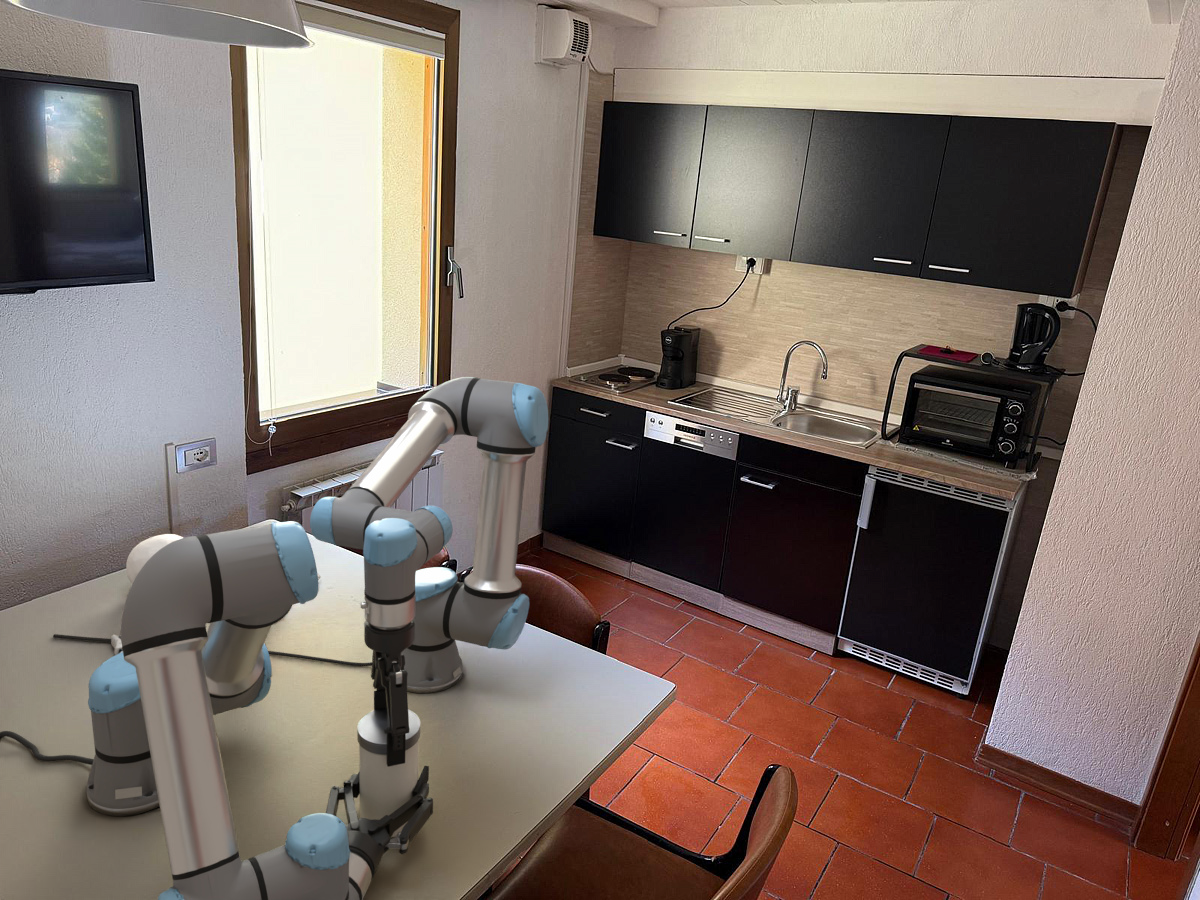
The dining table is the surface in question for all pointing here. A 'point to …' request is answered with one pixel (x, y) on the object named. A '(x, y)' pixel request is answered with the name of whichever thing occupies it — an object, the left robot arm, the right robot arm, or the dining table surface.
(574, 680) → the dining table surface
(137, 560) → the skull
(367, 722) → the lid
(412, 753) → the jar
